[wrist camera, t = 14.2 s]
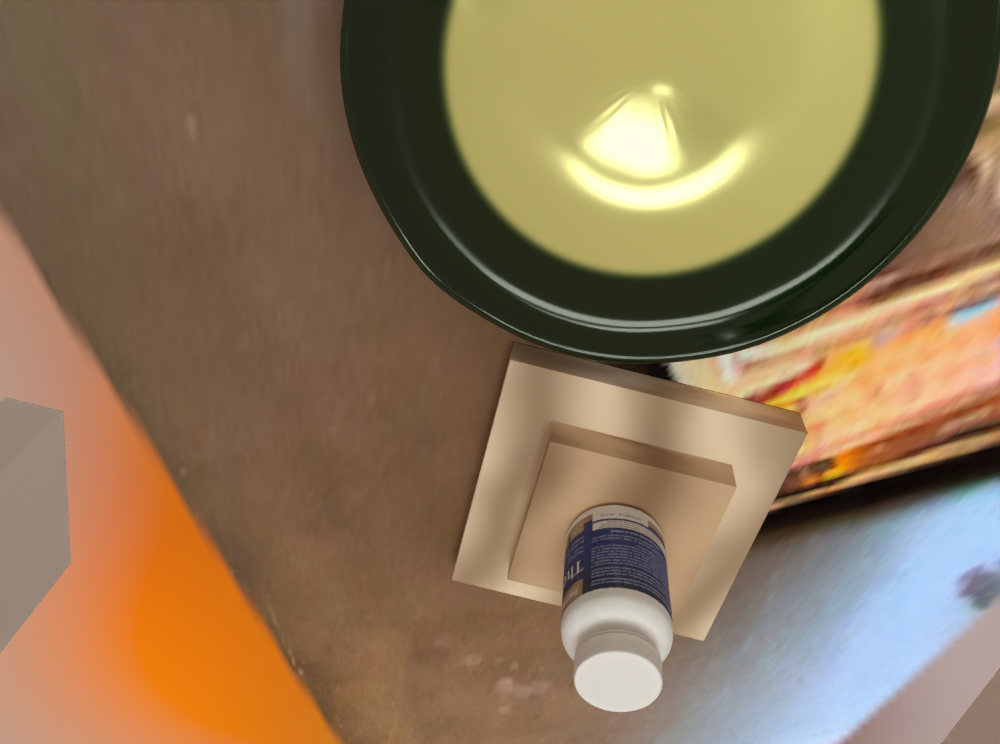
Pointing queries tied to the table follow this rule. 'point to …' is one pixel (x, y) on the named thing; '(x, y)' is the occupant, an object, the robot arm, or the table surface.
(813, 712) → the table surface
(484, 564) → the base
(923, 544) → the table surface
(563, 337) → the plate
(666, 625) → the pill bottle
